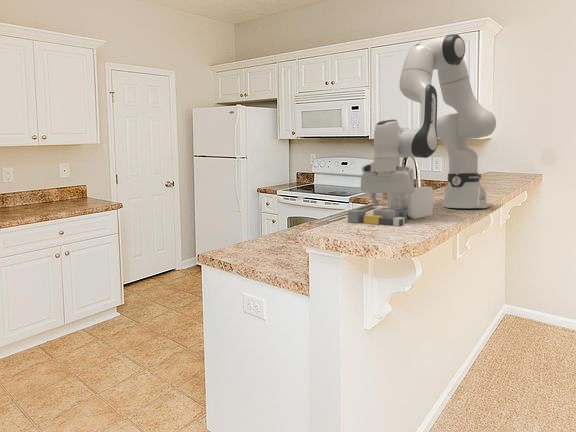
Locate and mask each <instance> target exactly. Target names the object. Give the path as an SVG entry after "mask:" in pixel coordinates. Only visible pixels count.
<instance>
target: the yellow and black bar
mask: <svg viewBox="0 0 576 432" xmlns="http://www.w3.org/2000/svg"><path fill="white" fill-rule="evenodd" d="M359 224H367V225H368V224H370V225H382V226H383V225H384V226H393V227H402V226H405V221H404V217H398V218H393V219H391V218H383V216H374V215H373V214H372V215H371V214H366V215H365V216H364V217H361V222H360V223H359Z"/></svg>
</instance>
